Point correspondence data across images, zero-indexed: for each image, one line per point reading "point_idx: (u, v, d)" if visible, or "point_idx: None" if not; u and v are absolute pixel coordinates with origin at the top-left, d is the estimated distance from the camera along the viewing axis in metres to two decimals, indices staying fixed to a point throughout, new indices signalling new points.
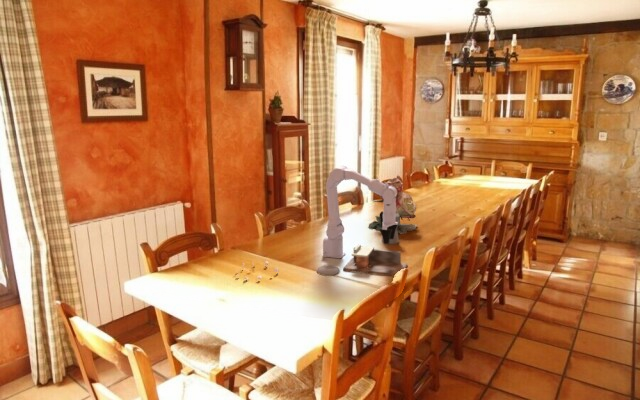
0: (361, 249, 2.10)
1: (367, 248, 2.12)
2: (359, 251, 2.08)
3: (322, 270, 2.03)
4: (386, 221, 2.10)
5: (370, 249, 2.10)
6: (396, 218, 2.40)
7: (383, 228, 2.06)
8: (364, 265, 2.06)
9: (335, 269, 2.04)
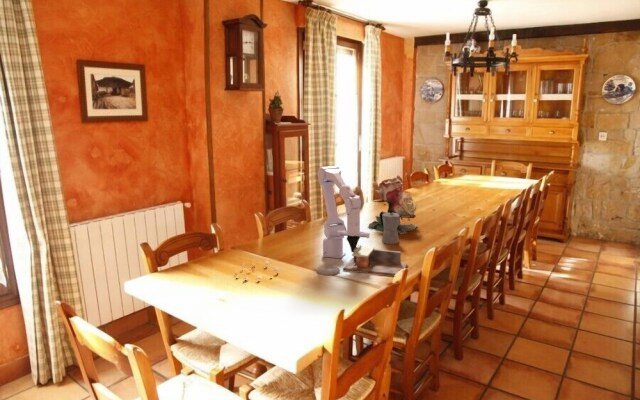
0: (361, 249, 2.10)
1: (367, 248, 2.12)
2: (359, 251, 2.07)
3: (322, 270, 2.03)
4: None
5: (370, 249, 2.10)
6: (396, 218, 2.40)
7: None
8: (364, 265, 2.06)
9: (335, 269, 2.04)
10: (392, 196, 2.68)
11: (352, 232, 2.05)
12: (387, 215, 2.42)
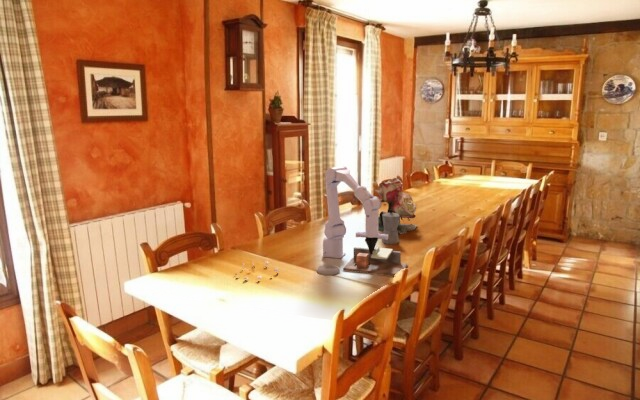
0: (380, 251, 2.07)
1: (386, 250, 2.09)
2: (378, 253, 2.05)
3: (322, 270, 2.03)
4: None
5: (389, 251, 2.07)
6: (396, 218, 2.40)
7: None
8: (364, 265, 2.06)
9: (335, 269, 2.04)
10: (392, 196, 2.68)
11: (371, 234, 2.02)
12: (387, 215, 2.42)
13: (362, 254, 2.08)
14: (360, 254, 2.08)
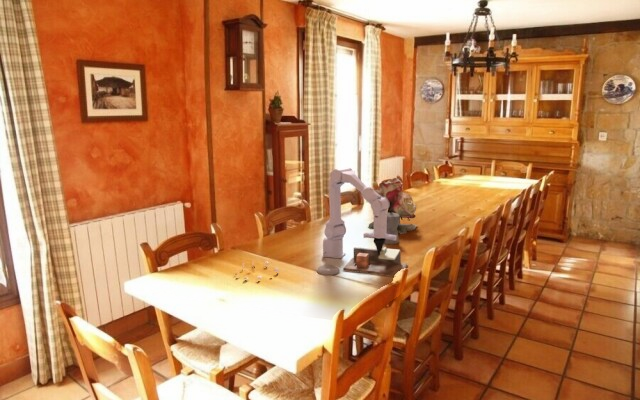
0: (387, 251, 2.06)
1: (393, 250, 2.08)
2: (385, 254, 2.03)
3: (322, 270, 2.03)
4: None
5: (396, 252, 2.06)
6: (396, 218, 2.40)
7: None
8: (364, 265, 2.06)
9: (335, 269, 2.04)
10: (392, 196, 2.68)
11: (379, 234, 2.01)
12: (387, 215, 2.42)
13: (362, 254, 2.08)
14: (360, 254, 2.08)
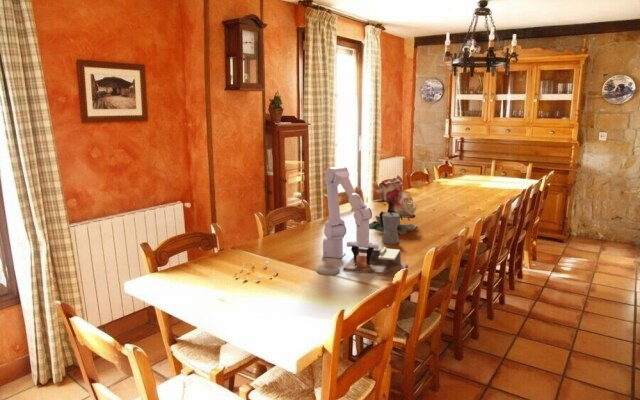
0: (387, 251, 2.06)
1: (393, 250, 2.08)
2: (385, 254, 2.03)
3: (322, 270, 2.03)
4: None
5: (396, 252, 2.06)
6: (396, 218, 2.40)
7: None
8: (364, 265, 2.06)
9: (335, 269, 2.04)
10: (392, 196, 2.68)
11: (361, 243, 2.04)
12: (387, 215, 2.42)
13: (362, 254, 2.08)
14: (360, 254, 2.08)
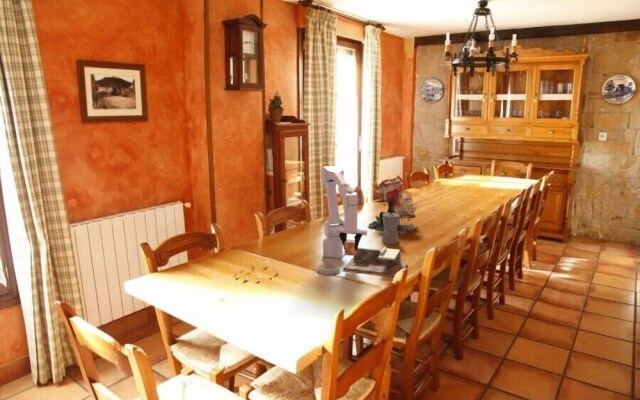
0: (387, 251, 2.06)
1: (393, 250, 2.08)
2: (385, 254, 2.03)
3: (322, 270, 2.03)
4: None
5: (396, 252, 2.06)
6: (396, 218, 2.40)
7: None
8: (352, 251, 2.03)
9: (335, 269, 2.04)
10: (392, 196, 2.68)
11: (349, 229, 2.01)
12: (387, 215, 2.42)
13: (351, 241, 2.05)
14: (348, 240, 2.05)
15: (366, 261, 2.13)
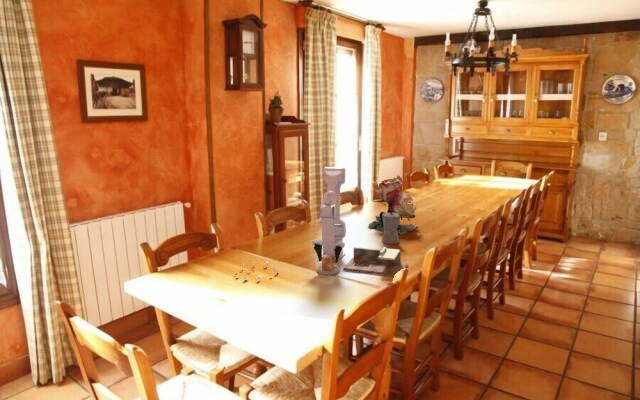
0: (387, 251, 2.06)
1: (393, 250, 2.08)
2: (385, 254, 2.03)
3: (322, 270, 2.03)
4: None
5: (396, 252, 2.06)
6: (396, 218, 2.40)
7: None
8: (329, 267, 2.01)
9: (335, 269, 2.04)
10: (392, 196, 2.68)
11: (326, 242, 1.99)
12: (387, 215, 2.42)
13: (328, 256, 2.03)
14: (326, 256, 2.03)
15: (366, 261, 2.13)
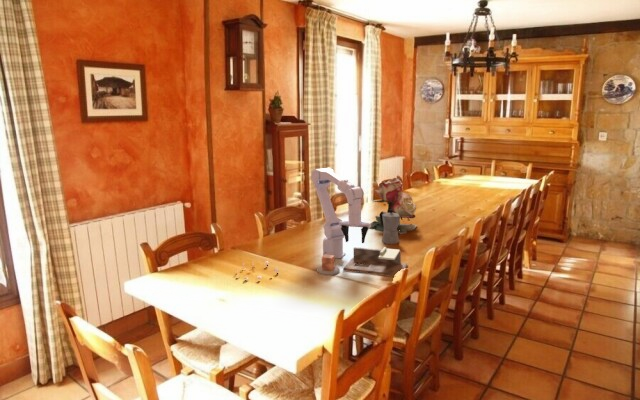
0: (387, 251, 2.06)
1: (393, 250, 2.08)
2: (385, 254, 2.03)
3: (322, 270, 2.03)
4: None
5: (396, 252, 2.06)
6: (396, 218, 2.40)
7: None
8: (329, 267, 2.01)
9: (335, 269, 2.04)
10: (392, 196, 2.68)
11: (353, 222, 2.08)
12: (387, 215, 2.42)
13: (328, 256, 2.03)
14: (326, 256, 2.03)
15: (366, 261, 2.13)
